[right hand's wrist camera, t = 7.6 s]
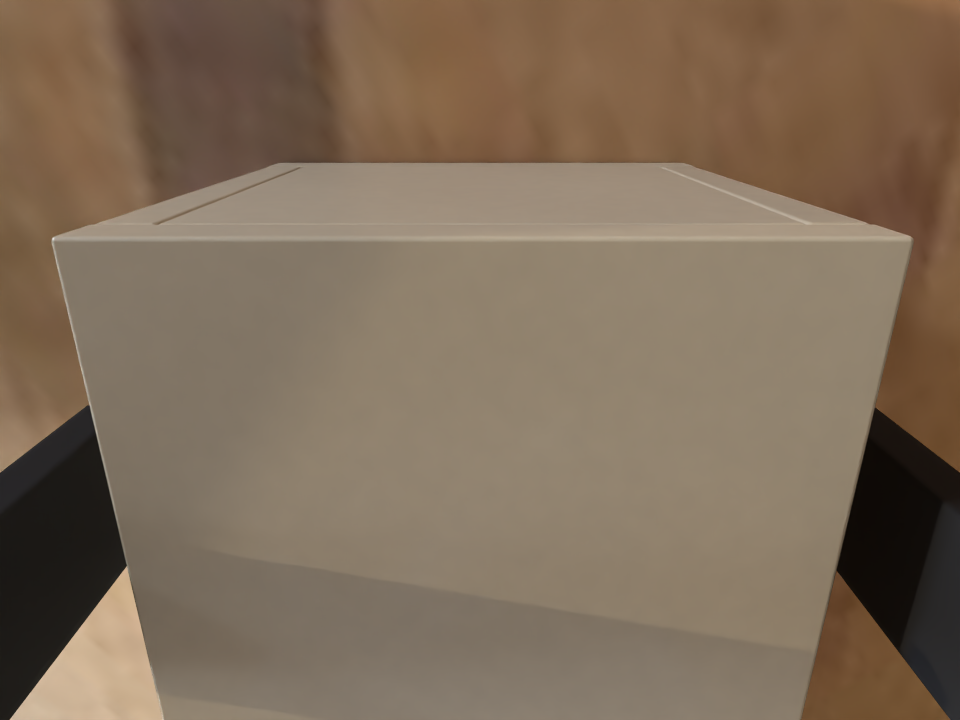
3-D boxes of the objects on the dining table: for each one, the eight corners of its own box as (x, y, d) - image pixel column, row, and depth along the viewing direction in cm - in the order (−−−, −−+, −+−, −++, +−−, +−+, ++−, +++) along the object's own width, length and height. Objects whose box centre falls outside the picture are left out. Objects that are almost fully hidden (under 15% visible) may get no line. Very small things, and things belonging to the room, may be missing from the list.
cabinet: (623, 742, 23) (708, 1121, 15) (338, 741, 23) (255, 1121, 15) (685, 162, 16) (917, 236, 8) (277, 162, 16) (47, 236, 8)
